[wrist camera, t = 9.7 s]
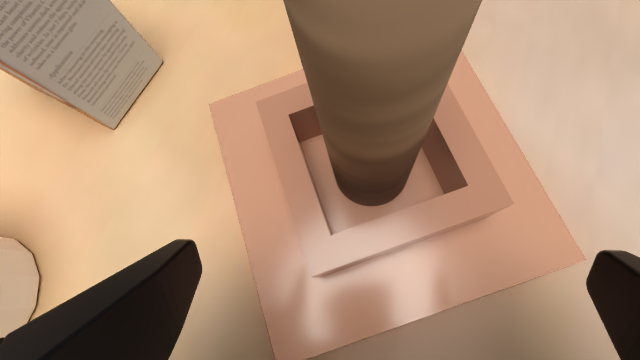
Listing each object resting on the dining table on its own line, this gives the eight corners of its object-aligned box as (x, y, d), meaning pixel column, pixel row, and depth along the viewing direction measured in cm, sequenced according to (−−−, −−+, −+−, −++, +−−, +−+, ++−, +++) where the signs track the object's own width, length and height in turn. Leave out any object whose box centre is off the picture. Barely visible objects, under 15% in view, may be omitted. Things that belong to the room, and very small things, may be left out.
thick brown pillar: (423, 169, 16) (620, -207, 4) (371, 222, 16) (398, -6, 3) (369, 124, 17) (380, -284, 5) (319, 171, 17) (191, -140, 4)
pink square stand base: (571, 261, 15) (643, 254, 11) (283, 364, 15) (256, 391, 11) (438, 30, 19) (456, -31, 16) (216, 112, 20) (181, 72, 16)
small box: (29, 86, 22) (-246, -74, 12) (81, 23, 23) (-131, -171, 13) (115, 133, 20) (-129, -12, 10) (167, 62, 21) (-6, -133, 11)
